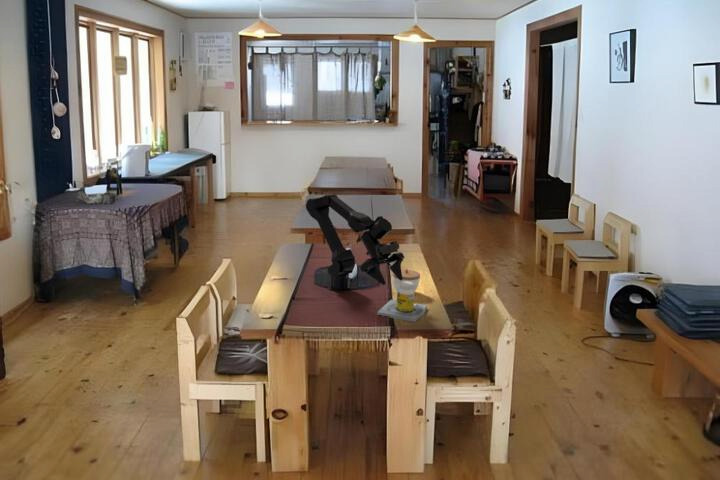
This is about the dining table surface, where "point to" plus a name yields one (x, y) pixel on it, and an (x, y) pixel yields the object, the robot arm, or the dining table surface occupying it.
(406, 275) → the lidded jar
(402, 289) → the pill bottle
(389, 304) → the socket board
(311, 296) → the dining table surface
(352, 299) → the dining table surface
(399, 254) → the robot arm
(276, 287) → the dining table surface
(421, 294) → the dining table surface
